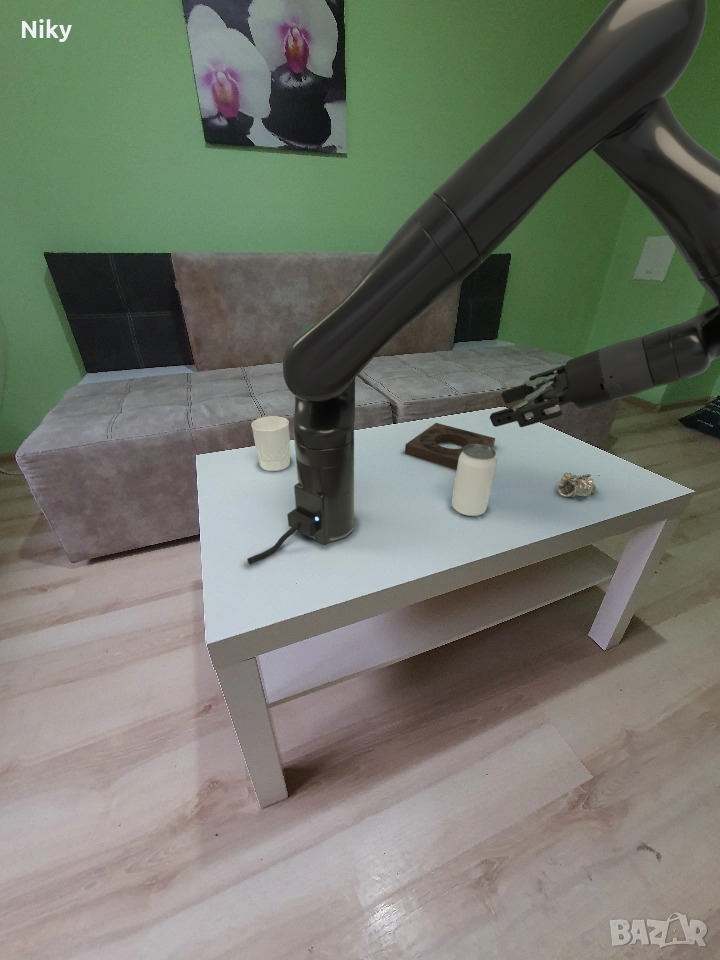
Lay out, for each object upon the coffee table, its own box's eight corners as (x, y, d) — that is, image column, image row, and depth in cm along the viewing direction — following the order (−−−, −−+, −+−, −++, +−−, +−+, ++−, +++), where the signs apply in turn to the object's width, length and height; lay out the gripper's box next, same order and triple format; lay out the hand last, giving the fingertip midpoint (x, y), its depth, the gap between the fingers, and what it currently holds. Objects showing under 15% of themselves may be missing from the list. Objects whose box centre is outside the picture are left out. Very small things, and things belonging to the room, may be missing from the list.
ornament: (576, 479, 82) (581, 464, 80) (602, 497, 77) (608, 481, 75) (545, 485, 80) (549, 470, 78) (569, 503, 75) (575, 487, 73)
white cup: (289, 453, 92) (285, 414, 86) (295, 469, 85) (291, 427, 80) (255, 458, 89) (249, 418, 84) (259, 475, 83) (252, 432, 78)
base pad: (468, 473, 84) (470, 463, 83) (404, 453, 92) (405, 444, 91) (493, 447, 95) (495, 438, 94) (434, 431, 103) (435, 422, 102)
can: (450, 496, 76) (458, 441, 70) (483, 499, 76) (495, 444, 69) (452, 515, 71) (461, 458, 65) (488, 518, 70) (501, 461, 64)
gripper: (603, 333, 58) (498, 372, 68) (599, 369, 48) (478, 408, 59) (617, 378, 60) (514, 409, 71) (615, 420, 51) (496, 449, 61)
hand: (497, 408), depth 65 cm, fingers open, 8 cm apart
